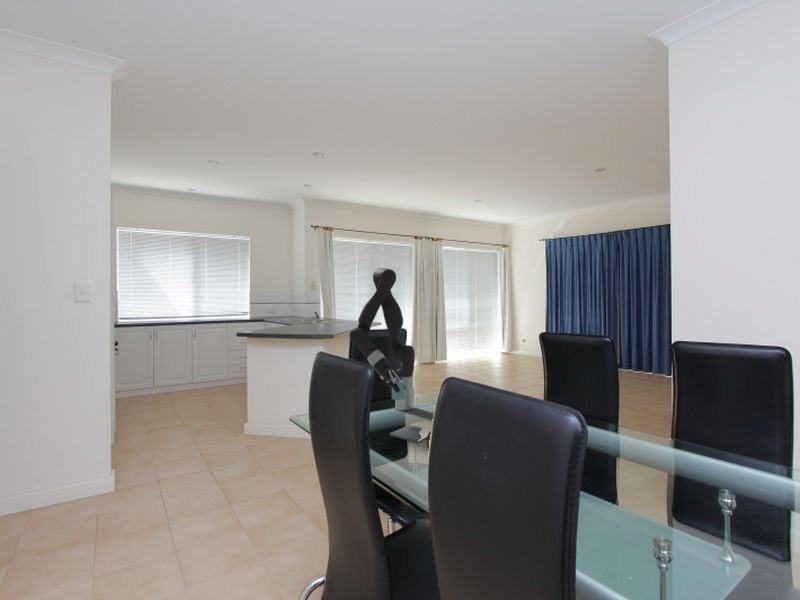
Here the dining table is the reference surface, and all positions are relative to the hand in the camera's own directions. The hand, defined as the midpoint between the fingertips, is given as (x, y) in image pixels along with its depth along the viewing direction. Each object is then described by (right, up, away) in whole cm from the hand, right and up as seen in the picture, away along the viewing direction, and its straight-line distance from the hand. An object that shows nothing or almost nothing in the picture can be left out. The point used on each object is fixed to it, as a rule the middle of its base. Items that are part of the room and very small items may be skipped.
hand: (401, 390), depth 189 cm
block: (-2, -4, +1) cm, 5 cm away
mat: (+5, -16, -13) cm, 21 cm away
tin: (+15, -16, -29) cm, 36 cm away
